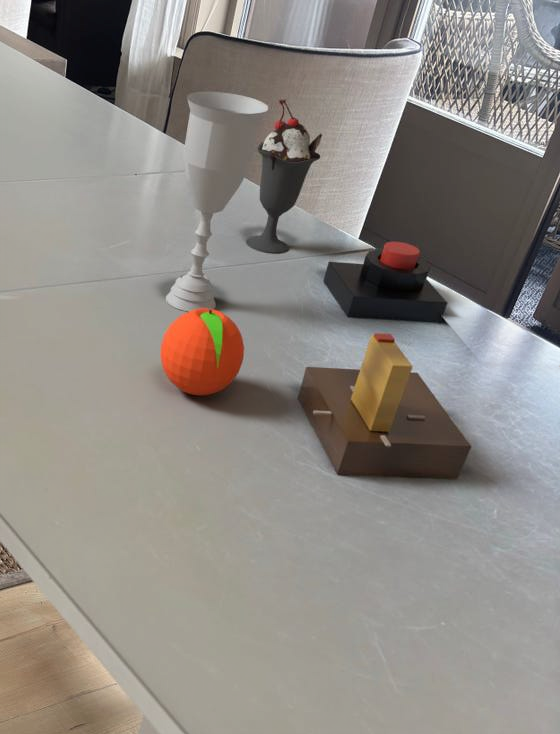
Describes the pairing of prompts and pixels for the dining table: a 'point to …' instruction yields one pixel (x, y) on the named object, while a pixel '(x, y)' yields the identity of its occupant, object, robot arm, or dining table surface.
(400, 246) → the bell button
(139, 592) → the dining table surface
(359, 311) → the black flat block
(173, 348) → the clementine
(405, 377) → the thumbturn
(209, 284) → the chalice
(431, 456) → the plate
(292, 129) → the sundae
